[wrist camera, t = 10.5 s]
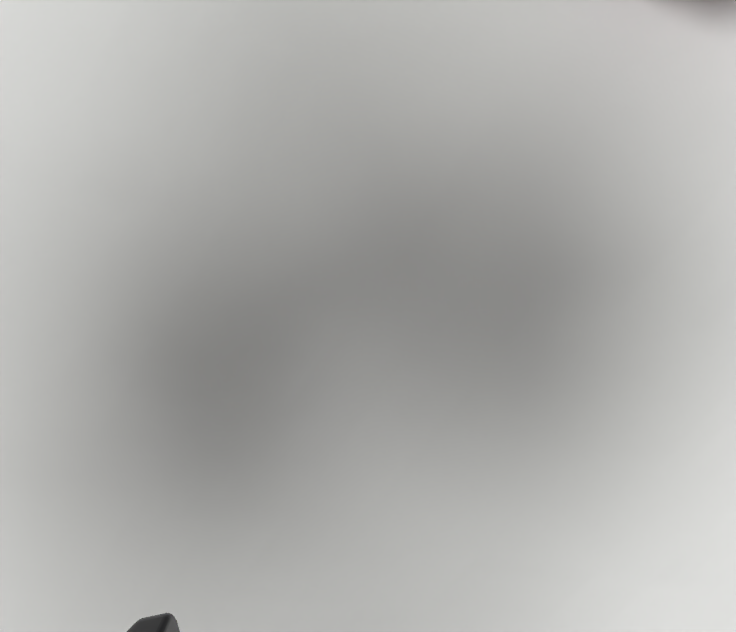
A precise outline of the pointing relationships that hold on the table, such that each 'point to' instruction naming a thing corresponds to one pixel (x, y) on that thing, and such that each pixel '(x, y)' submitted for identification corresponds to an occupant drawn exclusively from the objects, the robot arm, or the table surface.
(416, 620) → the table surface
